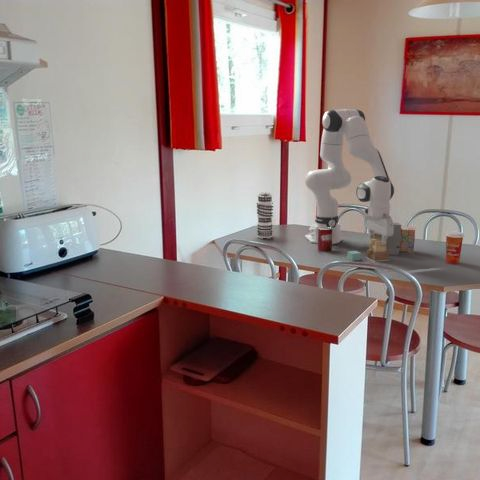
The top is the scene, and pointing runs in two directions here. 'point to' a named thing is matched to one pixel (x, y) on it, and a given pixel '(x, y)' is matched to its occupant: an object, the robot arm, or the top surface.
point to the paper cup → (453, 246)
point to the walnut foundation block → (377, 255)
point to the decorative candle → (264, 215)
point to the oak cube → (377, 245)
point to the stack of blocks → (404, 239)
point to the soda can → (325, 239)
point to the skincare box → (394, 240)
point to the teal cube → (354, 255)
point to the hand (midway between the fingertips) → (377, 241)
